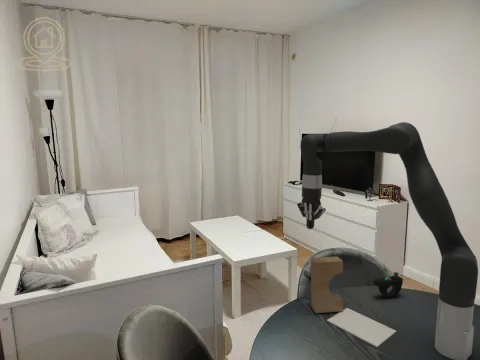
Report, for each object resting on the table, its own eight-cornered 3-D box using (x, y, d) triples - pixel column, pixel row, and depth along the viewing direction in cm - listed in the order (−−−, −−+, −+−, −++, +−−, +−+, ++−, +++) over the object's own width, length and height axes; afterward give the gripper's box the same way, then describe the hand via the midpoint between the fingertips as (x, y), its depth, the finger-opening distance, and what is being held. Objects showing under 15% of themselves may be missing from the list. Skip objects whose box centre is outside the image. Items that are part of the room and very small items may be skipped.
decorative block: (338, 305, 135) (338, 256, 133) (343, 312, 129) (343, 260, 128) (311, 307, 134) (310, 257, 133) (315, 313, 129) (314, 262, 127)
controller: (404, 297, 140) (405, 274, 138) (377, 301, 137) (378, 278, 136) (397, 292, 144) (398, 270, 142) (371, 296, 142) (372, 273, 140)
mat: (396, 331, 117) (396, 330, 117) (377, 347, 110) (377, 346, 110) (347, 308, 132) (347, 307, 132) (327, 321, 125) (327, 320, 125)
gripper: (332, 187, 129) (329, 230, 132) (305, 182, 139) (303, 222, 142) (319, 189, 124) (317, 234, 128) (292, 184, 135) (291, 226, 138)
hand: (310, 228), depth 135 cm, fingers closed
